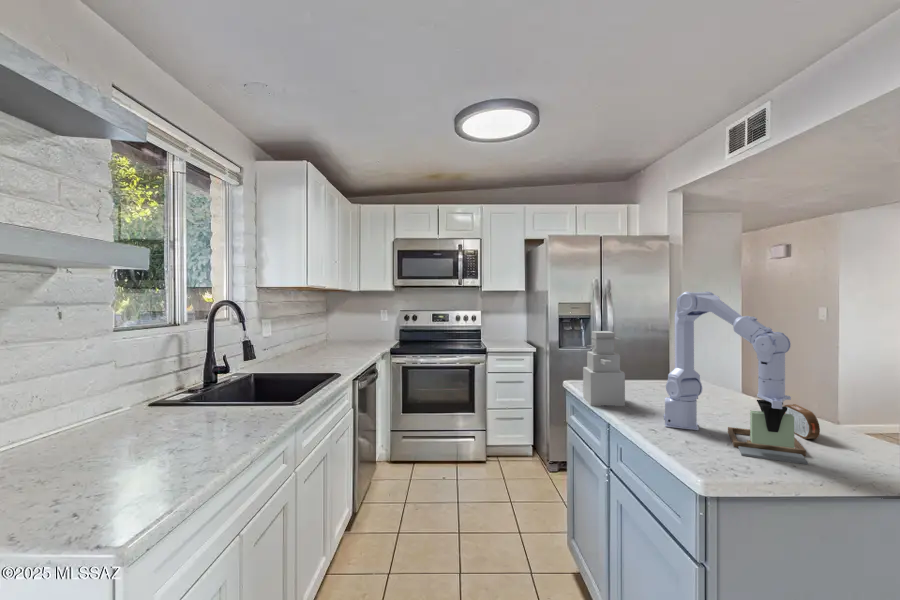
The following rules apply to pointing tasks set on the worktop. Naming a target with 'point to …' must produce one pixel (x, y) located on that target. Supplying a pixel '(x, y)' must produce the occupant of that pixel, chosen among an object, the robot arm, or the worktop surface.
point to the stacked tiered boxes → (603, 372)
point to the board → (763, 436)
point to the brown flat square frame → (797, 445)
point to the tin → (804, 422)
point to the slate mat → (772, 455)
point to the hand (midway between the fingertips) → (771, 429)
